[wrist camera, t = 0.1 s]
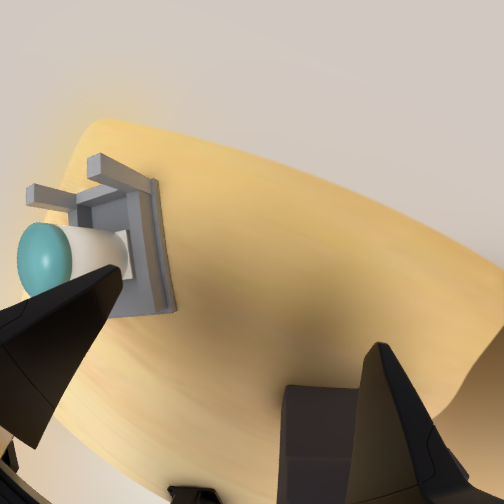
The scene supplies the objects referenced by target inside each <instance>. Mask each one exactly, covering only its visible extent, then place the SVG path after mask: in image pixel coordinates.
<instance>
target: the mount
mask: <svg viewBox="0 0 504 504" xmlns="http://www.w3.org/2000/svg"><path fill="white" fill-rule="evenodd" d="M87 179H90V180H93V181H95V182H98V183H101V184H102V185H99V186H96V187H94V188H91V189H88V190H85V191H83V192H80V193H77V194H73V193H69V192H65V191H61V190H57V189H54V188H50V187H46V186H42V185H38V184H32V185H31V186H29V187H27V188H26V206H31V207H37V208H44V209H49V210H55V211H61V212H66V213H68V218H69V226H74V227H83V228H92V229H101V230H109V231H112V232H118V231H122V230H130V235H131V244H132V251H133V258H134V265H135V271H136V278H132V279H125V280H123V289H122V292H121V293H120V295H119V297H118V299H117V301H116V303H115V305H114V307H113V309H112V311H111V313H110V315H109V317H108V318H119V317H132V316H143V315H154V314H165V313H173V312H175V311H177V309H176V304H175V299H174V293H173V288H172V282H171V276H170V270H169V264H168V257H167V251H166V244H165V237H164V229H163V221H162V213H161V204H160V195H159V185H158V180H156V179H154V178H153V179H150V178H148V177H146V176H144V175H142V174H140V173H138V172H136V171H135V170H133V169H131V168H129V167H127V166H125V165H123V164H121V163H119V162H117V161H116V160H114V159H112V158H110V157H108V156H106V155H104V154H102V153H98V154H96V155H93V156H91V157H89V158H87Z"/></svg>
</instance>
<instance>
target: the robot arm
mask: <svg viewBox="0 0 504 504" xmlns="http://www.w3.org/2000/svg"><path fill="white" fill-rule="evenodd" d="M122 289H123V280H122V274H121V269H120V267H118V266H115V265H112V264H108V265H106V266H103V267H101V268H98V269H96V270H94V271H91V272H89V273H86V274H84V275H82V276H79V277H77V278H74V279H72V280H70V281H67V282H65V283H63V284H60V285H58V286H56V287H54V288H51V289H49V290H47V291H44V292H42V293H40V294H38V295H35V296H33V297H31V298H29V299H27V300H24V301H22V302H20V303H18V304H15V305H13V306H11V307H8V308H6V309H3V310H1V311H0V504H52V503H51V502H49V501H48V500H46V499H45V498H44V497H43V496H41V495H40V494H39V493H38V492H36V491H35V490H34V489H33V488H32V487H30V486H29V485H28V484H27V483H26V482H25V481H23V480H22V479H21V478H20V477H19V476H18V475H17V474H16V473H17V471H18V469H19V466H18V462H17V457H16V453H15V448H14V443H13V441H12V439H13V437H14V436H15V437H16V438H18V439H19V440H21V441H22V442H24V443H25V444H27V445H28V446H30V447H31V448H33V449H36V448H37V446H38V444H39V442H40V440H41V437H42V435H43V433H44V431H45V429H46V427H47V425H48V423H49V421H50V419H51V417H52V415H53V413H54V411H55V409H56V407H57V405H58V403H59V401H60V399H61V397H62V396H63V394H64V392H65V390H66V388H67V386H68V385H69V383H70V381H71V379H72V377H73V376H74V374H75V372H76V370H77V369H78V367H79V365H80V363H81V362H82V360H83V358H84V357H85V355H86V353H87V352H88V350H89V348H90V347H91V345H92V344H93V342H94V340H95V339H96V337H97V335H98V334H99V332H100V331H101V329H102V327H103V326H104V324H105V322H106V321H107V319H108V317H109V315H110V313H111V311H112V309H113V307H114V305H115V303H116V301H117V299H118V297H119V295H120V293H121V292H122ZM167 490H168V492H169V493H170V495H171V496H172V498H173V499H172V501H171V503H170V504H222V502H221V500H220V498H219V497H218V495H217V493H216V491H215V490H213V489H200V488H182V487H171V486H170V487H168V489H167ZM345 504H504V500H503V499H500V498H498V497H495V496H493V495H491V494H488V493H486V492H484V491H481V490H479V489H477V488H475V487H473V486H472V485H471V484H470V483H469V482H468V481H467V480H466V478H465V477H464V475H463V473H462V472H461V470H460V468H459V467H458V465H457V463H456V462H455V460H454V459H453V457H452V455H451V454H450V452H449V450H448V449H447V447H446V445H445V444H444V442H443V440H442V438H441V436H440V434H439V432H438V431H437V429H436V427H435V425H433V421H432V419H431V417H430V415H429V414H428V412H427V410H426V408H425V406H424V404H423V403H422V401H421V399H420V397H419V395H418V394H417V392H416V390H415V388H414V387H413V385H412V383H411V381H410V380H409V378H408V376H407V374H406V373H405V371H404V369H403V368H402V366H401V364H400V363H399V361H398V359H397V358H396V356H395V354H394V353H393V351H392V349H391V348H390V346H389V345H388V344H387V343H383V342H376V343H375V344H374V345H373V346H372V348H371V349H370V351H369V352H368V353H367V355H366V356H365V358H364V362H363V369H362V376H361V382H360V389H359V394H358V401H357V414H356V426H355V437H354V446H353V454H352V462H351V469H350V476H349V482H348V488H347V494H346V499H345Z"/></svg>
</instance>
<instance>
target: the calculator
mask: <svg viewBox="0 0 504 504" xmlns="http://www.w3.org/2000/svg"><path fill="white" fill-rule="evenodd" d="M358 394H359V389H340V388H321V387H307V386H295V385H288V386H286V389H285V394H284V400H283V405H282V410H281V431H280V454H279V474H278V491H277V504H345V499H346V494H347V488H348V482H349V476H350V469H351V462H352V454H353V446H354V437H355V426H356V414H357V401H358ZM447 449H448V450H449V452H450V454H451V455H452V457H453V459H454V460H455V462H456V463H457V465H458V467H459V468H460V470H461V472H462V473H463V475H464V477H465V478H466V480H467V481H468V479H469V474H468V473H467V472H466V470H465V469H464V468H463V466H462V465H461V464H460V462H459V461H458V460H457V458H456V457H455V456H454V455H453V453H452V452H451V451H450V449H449V448H447Z"/></svg>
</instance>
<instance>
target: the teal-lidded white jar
mask: <svg viewBox="0 0 504 504" xmlns="http://www.w3.org/2000/svg"><path fill="white" fill-rule="evenodd" d="M108 264H112V265H115V266H118V267H120V269H121V274H122V280H125V279H132V278H136V271H135V265H134V258H133V251H132V244H131V235H130V230H122V231H118V232H112V231H109V230H101V229H92V228H83V227H74V226H65V225H57V224H48V223H33V224H31V225H30V226H29V227H28V228H27V229H26V230H25V231H24V233H23V235H22V237H21V239H20V242H19V246H18V252H17V268H18V274H19V277H20V280H21V283H22V285H23V287H24V289H25V290H26V292H27V293H28V294H29V295H30V296H31V297H33V296H35V295H38V294H40V293H42V292H44V291H47V290H49V289H51V288H54V287H56V286H58V285H60V284H63V283H65V282H67V281H70V280H72V279H74V278H77V277H79V276H82V275H84V274H86V273H89V272H91V271H94V270H96V269H98V268H101V267H103V266H106V265H108Z"/></svg>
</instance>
